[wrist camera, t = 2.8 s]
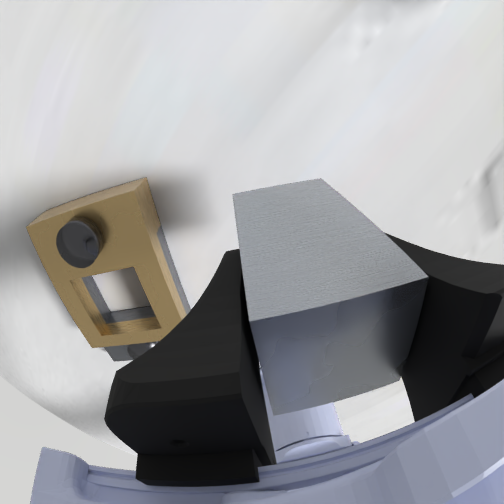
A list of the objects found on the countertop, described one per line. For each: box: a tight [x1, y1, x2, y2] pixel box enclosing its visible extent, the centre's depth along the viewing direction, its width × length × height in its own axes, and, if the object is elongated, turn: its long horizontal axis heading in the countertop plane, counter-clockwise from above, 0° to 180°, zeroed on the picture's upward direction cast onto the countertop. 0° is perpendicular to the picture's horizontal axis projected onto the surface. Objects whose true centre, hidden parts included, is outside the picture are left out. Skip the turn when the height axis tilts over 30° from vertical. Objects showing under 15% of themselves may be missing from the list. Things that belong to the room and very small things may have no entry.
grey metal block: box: [233, 178, 428, 416], centre depth 10 cm, size 4×4×8 cm
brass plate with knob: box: [26, 178, 191, 361], centre depth 20 cm, size 15×9×4 cm, turn 10°
